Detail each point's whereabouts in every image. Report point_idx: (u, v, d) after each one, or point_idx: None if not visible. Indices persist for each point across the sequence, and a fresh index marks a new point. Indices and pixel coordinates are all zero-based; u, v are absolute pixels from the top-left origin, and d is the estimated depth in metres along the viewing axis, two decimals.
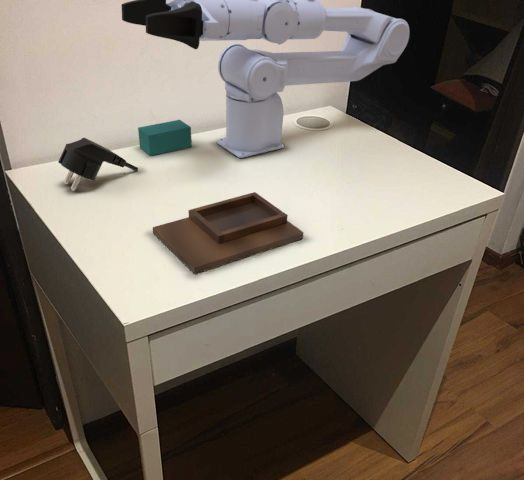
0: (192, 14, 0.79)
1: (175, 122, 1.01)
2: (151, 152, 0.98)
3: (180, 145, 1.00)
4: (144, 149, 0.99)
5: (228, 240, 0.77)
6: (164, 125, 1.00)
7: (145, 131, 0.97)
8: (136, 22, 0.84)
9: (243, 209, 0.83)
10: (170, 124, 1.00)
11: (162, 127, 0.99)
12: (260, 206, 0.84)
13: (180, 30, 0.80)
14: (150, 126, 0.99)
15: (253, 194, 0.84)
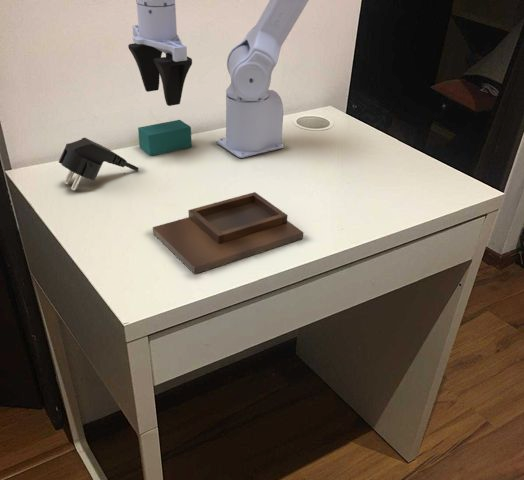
0: (167, 70, 0.88)
1: (175, 122, 1.01)
2: (151, 152, 0.98)
3: (180, 145, 1.00)
4: (144, 149, 0.99)
5: (228, 240, 0.77)
6: (164, 125, 1.00)
7: (145, 131, 0.97)
8: (158, 77, 0.97)
9: (243, 209, 0.83)
10: (170, 124, 1.00)
11: (162, 127, 0.99)
12: (260, 206, 0.84)
13: (176, 73, 0.90)
14: (150, 126, 0.99)
15: (253, 194, 0.84)
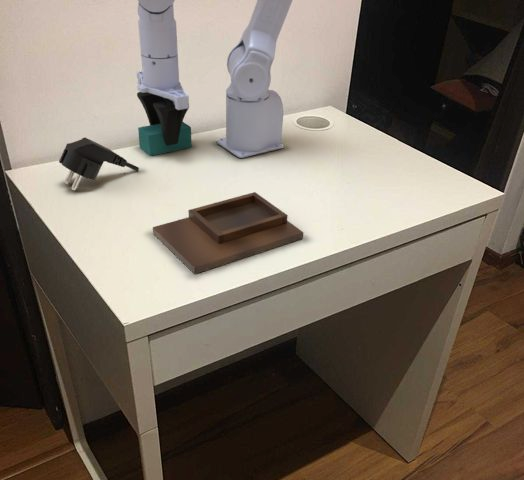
0: (166, 114, 0.93)
1: None
2: (151, 152, 0.98)
3: (180, 145, 1.00)
4: (144, 149, 0.99)
5: (228, 240, 0.77)
6: None
7: (145, 131, 0.97)
8: None
9: (243, 209, 0.83)
10: None
11: None
12: (260, 206, 0.84)
13: (174, 115, 0.96)
14: (150, 126, 0.99)
15: (253, 194, 0.84)
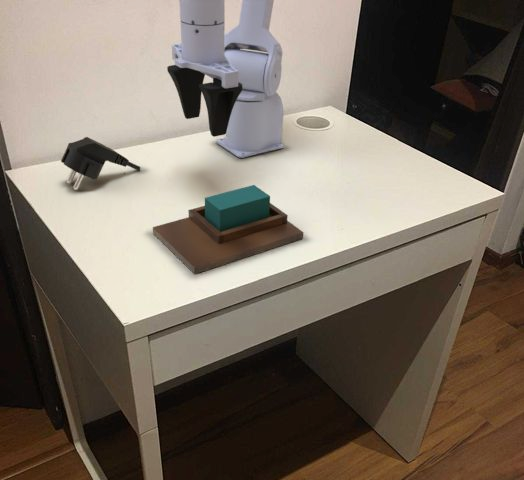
0: (215, 97, 0.76)
1: (250, 189, 0.80)
2: (221, 229, 0.78)
3: (256, 218, 0.80)
4: (212, 224, 0.79)
5: (228, 240, 0.77)
6: (237, 194, 0.79)
7: (215, 203, 0.77)
8: (199, 103, 0.86)
9: None
10: (244, 193, 0.79)
11: (235, 197, 0.78)
12: None
13: (223, 100, 0.79)
14: (219, 195, 0.79)
15: None
